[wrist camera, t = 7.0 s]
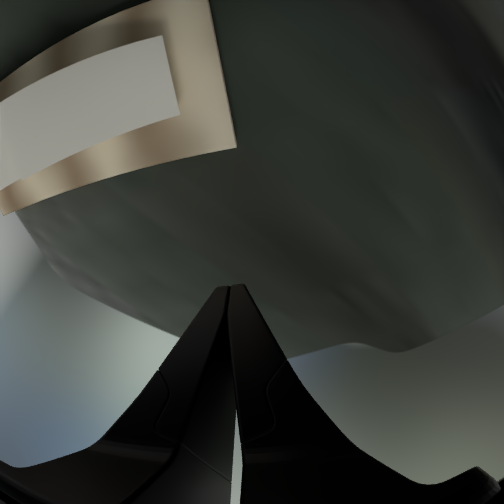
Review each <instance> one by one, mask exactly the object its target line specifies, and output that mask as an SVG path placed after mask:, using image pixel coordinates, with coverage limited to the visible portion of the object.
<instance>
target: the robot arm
mask: <svg viewBox="0 0 504 504" xmlns="http://www.w3.org/2000/svg"><path fill="white" fill-rule="evenodd" d="M236 410H237V418H238V426H239V435H240V442H241V450H242V462H243V463H242V464H243V467H242V482H241V496H240V504H504V478H502V479H501V480H499V481H496V480H494V478H493V477H491V476H490V475H489V474H487V473H486V472H485V471H484V470H482V469H481V468H480V467H477V466H476V467H473V468H471V469H469V470H467V471H465V472H463V473H461V474H459V475H457V476H455V477H453V478H451V479H449V480H447V481H444V482H442V483H438V484H431V485H426V484H420V483H417V482H414V481H412V480H410V479H408V478H406V477H405V476H403V475H401V474H399V473H398V472H396V471H394V470H393V469H391V468H389V467H388V466H386V465H384V464H383V463H381V462H380V461H378V460H376V459H375V458H373V457H372V456H370V455H368V454H367V453H365V452H364V451H362V450H361V449H359V448H358V447H357V446H356V445H355V444H353V443H352V442H351V441H350V440H349V439H348V438H347V437H346V436H345V435H344V434H343V433H342V432H341V430H340V429H339V428H338V427H337V426H336V425H335V424H334V422H333V421H332V420H331V419H330V418H329V417H328V415H327V414H326V413H325V412H324V411H323V410H322V408H321V407H320V406H319V405H318V404H317V402H316V401H315V400H314V399H313V397H312V396H311V395H310V394H309V392H308V391H307V390H306V388H305V387H304V386H303V384H302V383H301V381H300V380H299V378H298V376H297V375H296V373H295V372H294V370H293V368H292V367H291V365H290V363H289V362H288V361H287V358H286V357H285V355H284V353H283V351H282V350H281V348H280V346H279V344H278V343H277V341H276V339H275V337H274V336H273V334H272V332H271V330H270V329H269V327H268V325H267V323H266V321H265V320H264V318H263V316H262V314H261V313H260V311H259V309H258V307H257V305H256V304H255V302H254V300H253V298H252V296H251V295H250V293H249V291H248V289H247V287H246V286H245V284H237V285H232V286H231V287H230V286H222V287H217V288H216V289H215V290H214V292H213V293H212V294H211V296H210V297H209V298H208V300H207V301H206V303H205V304H204V305H203V307H202V308H201V310H200V311H199V312H198V314H197V315H196V317H195V318H194V319H193V321H192V322H191V324H190V325H189V326H188V328H187V329H186V331H185V332H184V333H183V335H182V336H181V338H180V339H179V341H178V342H177V343H176V345H175V346H174V347H173V349H172V350H171V352H170V353H169V354H168V356H167V357H166V359H165V360H164V362H163V363H162V364H161V366H160V367H159V371H158V370H157V371H156V373H155V374H154V375H153V377H152V378H151V380H150V381H149V382H148V384H147V385H146V386H145V388H144V389H143V390H142V392H141V393H140V394H139V396H138V397H137V398H136V399H135V400H134V401H133V403H132V404H131V405H130V406H129V407H128V408H127V410H126V411H125V412H124V413H123V414H122V415H121V416H120V417H119V419H118V420H117V421H116V422H115V423H114V424H113V425H112V426H111V428H110V429H109V430H108V431H107V432H106V433H105V434H104V435H103V436H102V437H101V438H100V439H99V440H98V441H97V442H96V443H94V444H93V445H91V446H90V447H88V448H86V449H84V450H81V451H78V452H76V453H72V454H69V455H66V456H63V457H61V458H57V459H54V460H51V461H48V462H45V463H41V464H38V465H34V466H30V467H24V468H16V467H12V466H10V465H8V464H6V463H4V462H3V461H1V460H0V504H230V499H231V481H232V465H233V450H234V435H235V420H236Z"/></svg>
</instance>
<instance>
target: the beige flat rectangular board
mask: <svg viewBox="0 0 504 504" xmlns="http://www.w3.org/2000/svg"><path fill="white" fill-rule="evenodd" d="M161 35H162V36H163V41H164V46H165V50H166V55H167V59H168V64H169V68H170V73H171V77H172V82H173V86H174V90H175V95H176V99H177V103H178V107H179V111H180V115H178V116H174V117H171V118H168V119H164V120H161V121H158V122H155V123H152V124H149V125H146V126H143V127H140V128H137V129H135V130H132V131H129V132H126V133H124V134H121V135H118V136H116V137H113V138H111V139H108V140H106V141H103V142H101V143H98V144H96V145H94V146H91V147H89V148H87V149H84V150H82V151H80V152H78V153H75V154H73V155H71V156H69V157H67V158H65V159H63V160H61V161H58V162H56V163H54V164H52V165H50V166H48V167H46V168H45V169H43V170H41V171H39V172H37V173H35V174H33V175H31V176H29V177H28V178H26V179H24V180H22V179H19V180H17V181H15V182H14V183H12V184H10V185H9V186H7V187H5V188H4V189H2V190H0V209H1V212H2V214H3V216H4V215H7V214H9V213H11V212H14V211H16V210H19V209H21V208H23V207H26V206H28V205H31V204H33V203H36V202H39V201H41V200H44V199H46V198H49V197H52V196H54V195H57V194H60V193H63V192H66V191H69V190H71V189H74V188H77V187H80V186H83V185H86V184H89V183H93V182H96V181H99V180H102V179H105V178H109V177H112V176H116V175H119V174H122V173H126V172H130V171H133V170H137V169H141V168H144V167H148V166H152V165H156V164H160V163H164V162H168V161H173V160H177V159H181V158H186V157H190V156H195V155H200V154H205V153H210V152H215V151H220V150H225V149H231V148H236V147H237V142H236V137H235V132H234V126H233V121H232V116H231V111H230V106H229V101H228V96H227V91H226V86H225V80H224V75H223V70H222V65H221V60H220V55H219V50H218V45H217V40H216V35H215V30H214V25H213V20H212V15H211V10H210V5H209V0H151V1H148V2H145V3H143V4H140V5H137V6H134V7H132V8H129V9H127V10H124V11H121V12H119V13H117V14H114V15H112V16H110V17H107V18H105V19H103V20H101V21H98V22H96V23H94V24H92V25H90V26H88V27H86V28H84V29H82V30H80V31H78V32H76V33H74V34H72V35H71V36H69V37H67V38H65V39H63V40H62V41H60V42H58V43H56V44H55V45H53V46H51V47H50V48H48V49H47V50H45V51H43V52H42V53H40V54H39V55H37V56H36V57H34V58H33V59H31V60H30V61H28V62H27V63H25V64H24V65H22V66H21V67H20V68H18V69H17V70H15V71H14V72H13V73H11V74H10V75H9V76H7V77H6V78H5V79H4V80H2V81H1V82H0V102H2V101H3V100H5V99H6V98H8V97H10V96H11V95H13V94H15V93H16V92H18V91H20V90H22V89H23V88H25V87H27V86H29V85H31V84H33V83H35V82H36V81H38V80H40V79H42V78H44V77H46V76H48V75H50V74H53V73H55V72H57V71H59V70H61V69H63V68H66V67H68V66H70V65H72V64H75V63H77V62H80V61H82V60H85V59H87V58H90V57H92V56H95V55H98V54H101V53H103V52H106V51H109V50H112V49H115V48H118V47H121V46H124V45H128V44H131V43H134V42H138V41H142V40H145V39H149V38H153V37H157V36H161Z"/></svg>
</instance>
